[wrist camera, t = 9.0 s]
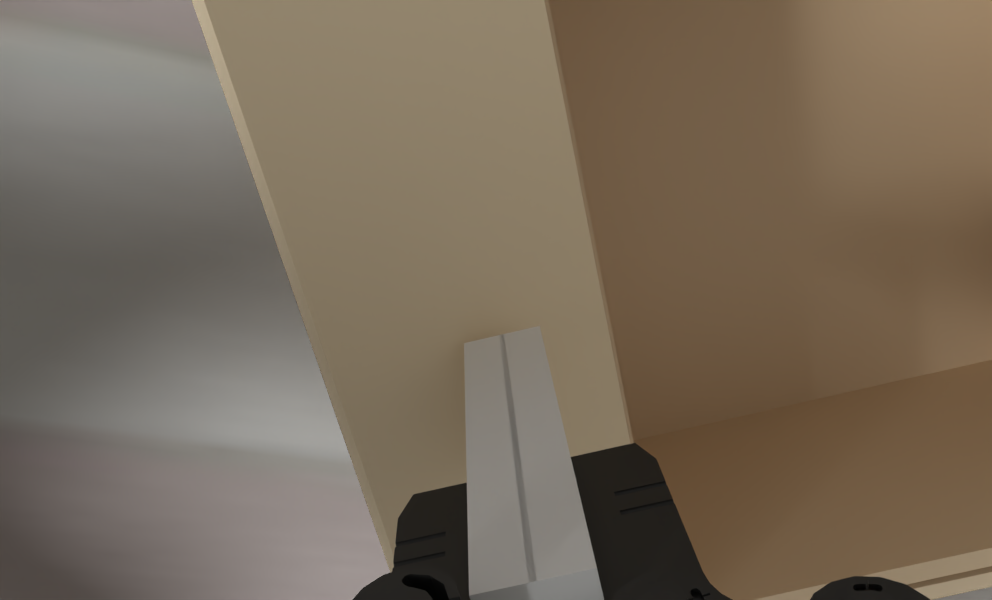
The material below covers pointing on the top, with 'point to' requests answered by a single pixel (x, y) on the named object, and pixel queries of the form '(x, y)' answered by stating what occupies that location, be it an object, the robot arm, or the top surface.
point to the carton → (798, 275)
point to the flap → (419, 215)
